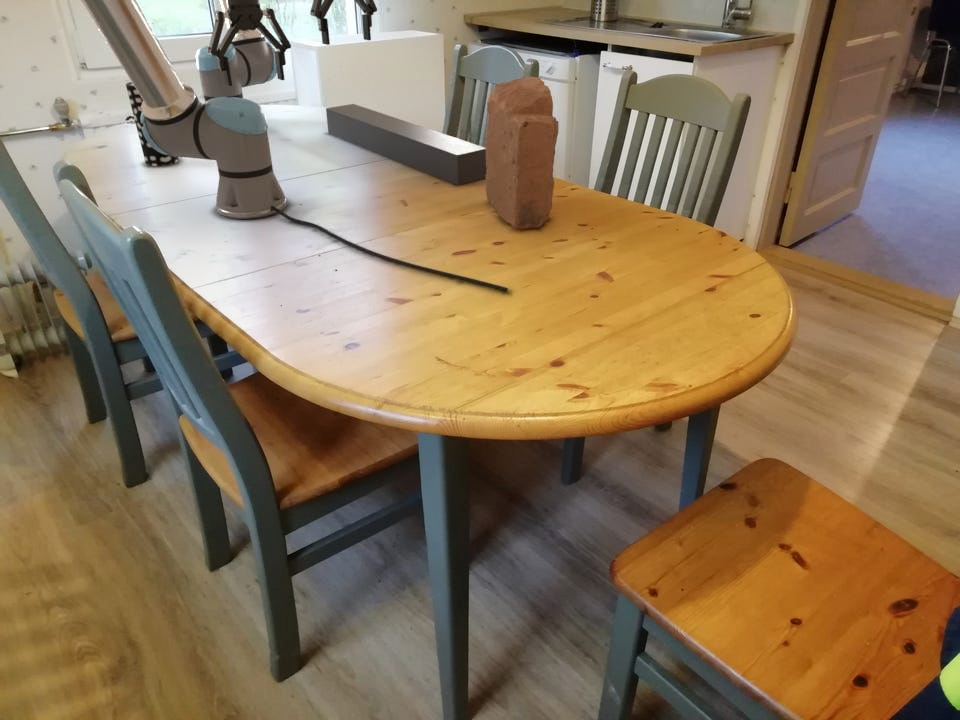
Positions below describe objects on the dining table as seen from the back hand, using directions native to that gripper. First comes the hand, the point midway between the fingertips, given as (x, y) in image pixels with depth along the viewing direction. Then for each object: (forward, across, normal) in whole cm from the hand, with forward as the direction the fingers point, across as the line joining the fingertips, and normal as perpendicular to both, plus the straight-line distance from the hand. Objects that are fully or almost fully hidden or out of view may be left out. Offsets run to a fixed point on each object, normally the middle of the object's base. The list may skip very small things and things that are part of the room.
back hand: (347, 42), depth 197 cm
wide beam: (+26, 0, +24) cm, 36 cm away
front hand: (+5, +34, +10) cm, 36 cm away
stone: (+26, +6, +80) cm, 84 cm away
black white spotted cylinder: (+16, +55, -9) cm, 58 cm away
